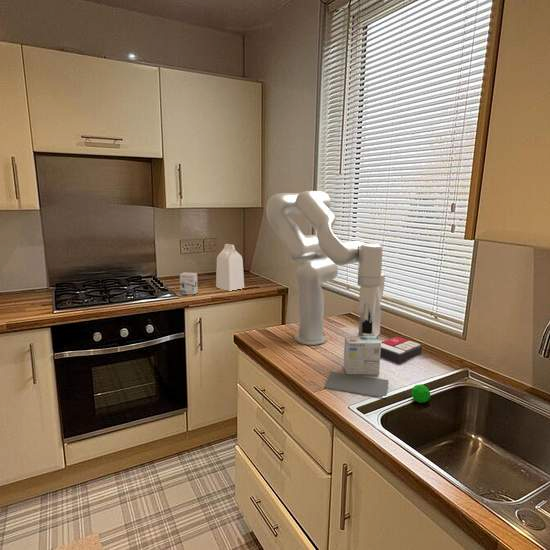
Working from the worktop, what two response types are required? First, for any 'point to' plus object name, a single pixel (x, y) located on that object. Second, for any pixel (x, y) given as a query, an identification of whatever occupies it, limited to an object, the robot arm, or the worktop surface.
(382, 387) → the mat
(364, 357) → the light bulb box
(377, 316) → the skyscraper
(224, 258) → the milk
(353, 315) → the worktop surface
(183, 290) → the ink box
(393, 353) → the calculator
